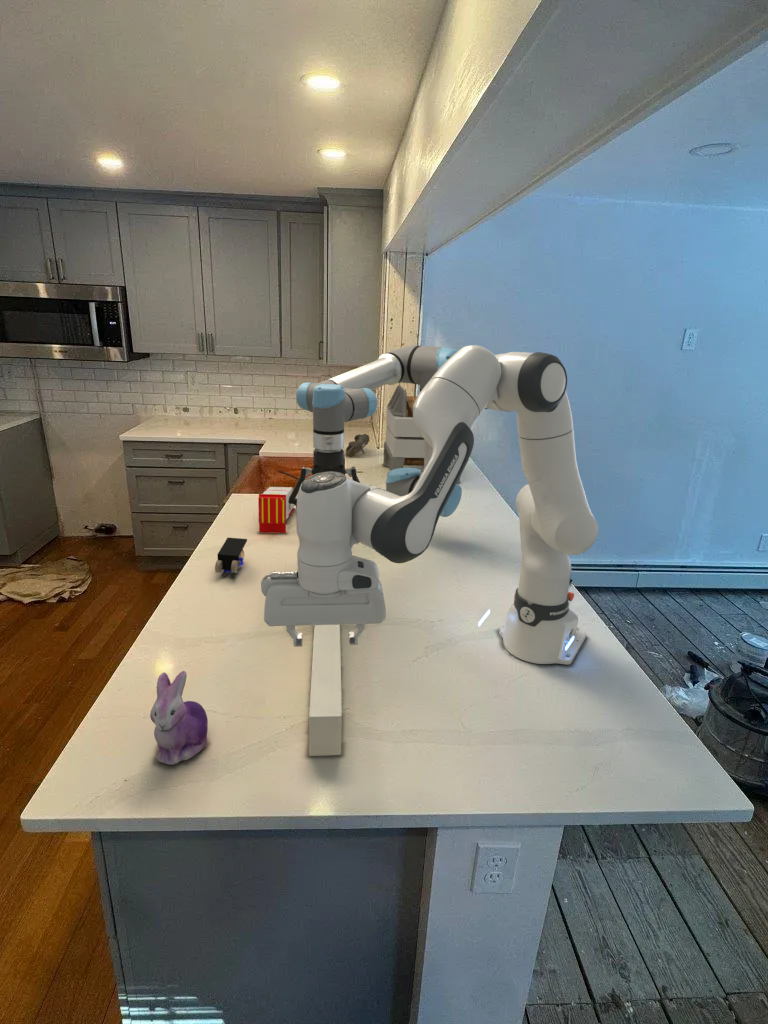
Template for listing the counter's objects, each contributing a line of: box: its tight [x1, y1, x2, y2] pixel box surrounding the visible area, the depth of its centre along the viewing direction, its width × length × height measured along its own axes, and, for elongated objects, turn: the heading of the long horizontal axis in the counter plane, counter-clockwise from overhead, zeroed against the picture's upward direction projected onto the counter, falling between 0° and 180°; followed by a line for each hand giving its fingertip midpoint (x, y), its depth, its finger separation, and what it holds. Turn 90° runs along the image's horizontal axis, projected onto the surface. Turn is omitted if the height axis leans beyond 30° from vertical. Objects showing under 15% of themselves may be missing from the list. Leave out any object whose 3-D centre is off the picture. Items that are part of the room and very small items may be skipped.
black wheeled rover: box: [214, 537, 248, 578], centre depth 166 cm, size 7×8×15 cm
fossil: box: [344, 433, 370, 458], centre depth 306 cm, size 22×10×15 cm
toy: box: [257, 486, 298, 534], centre depth 206 cm, size 12×13×30 cm
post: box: [308, 625, 343, 757], centre depth 128 cm, size 62×6×8 cm, turn 5°
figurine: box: [149, 670, 209, 766], centre depth 98 cm, size 9×10×15 cm
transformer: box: [383, 384, 461, 484], centre depth 268 cm, size 34×33×41 cm
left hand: (328, 528), depth 147 cm, fingers open, 13 cm apart
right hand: (325, 644), depth 97 cm, fingers open, 8 cm apart
